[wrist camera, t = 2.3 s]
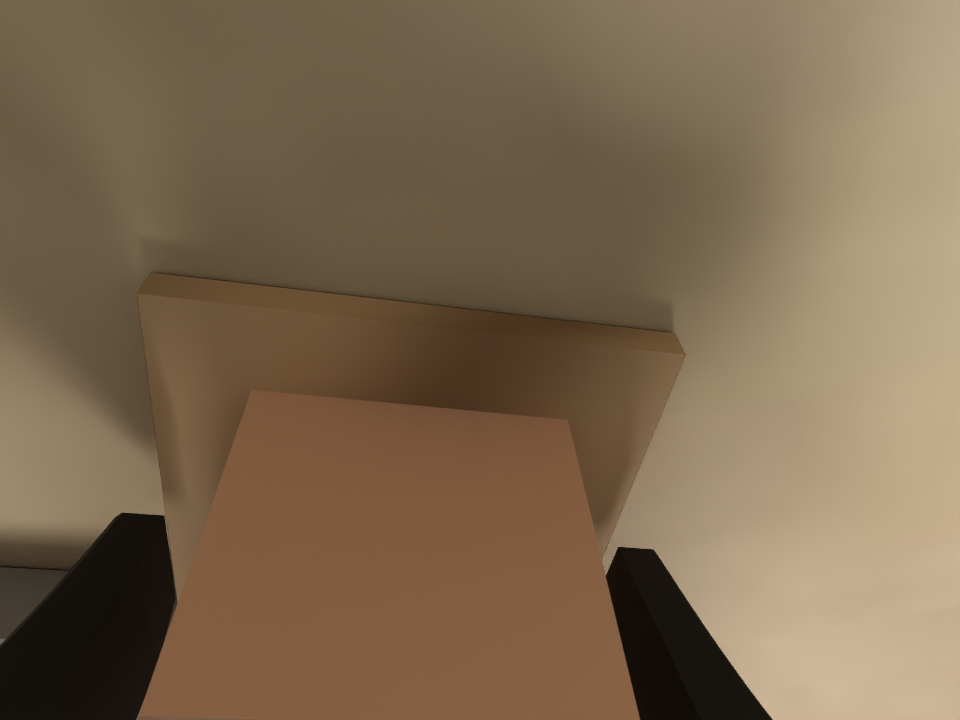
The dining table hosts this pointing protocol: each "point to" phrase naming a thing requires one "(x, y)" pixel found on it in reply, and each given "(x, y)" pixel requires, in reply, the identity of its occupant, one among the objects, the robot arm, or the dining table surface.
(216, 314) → the stand
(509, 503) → the brown cube box
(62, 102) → the dining table surface
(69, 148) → the dining table surface
